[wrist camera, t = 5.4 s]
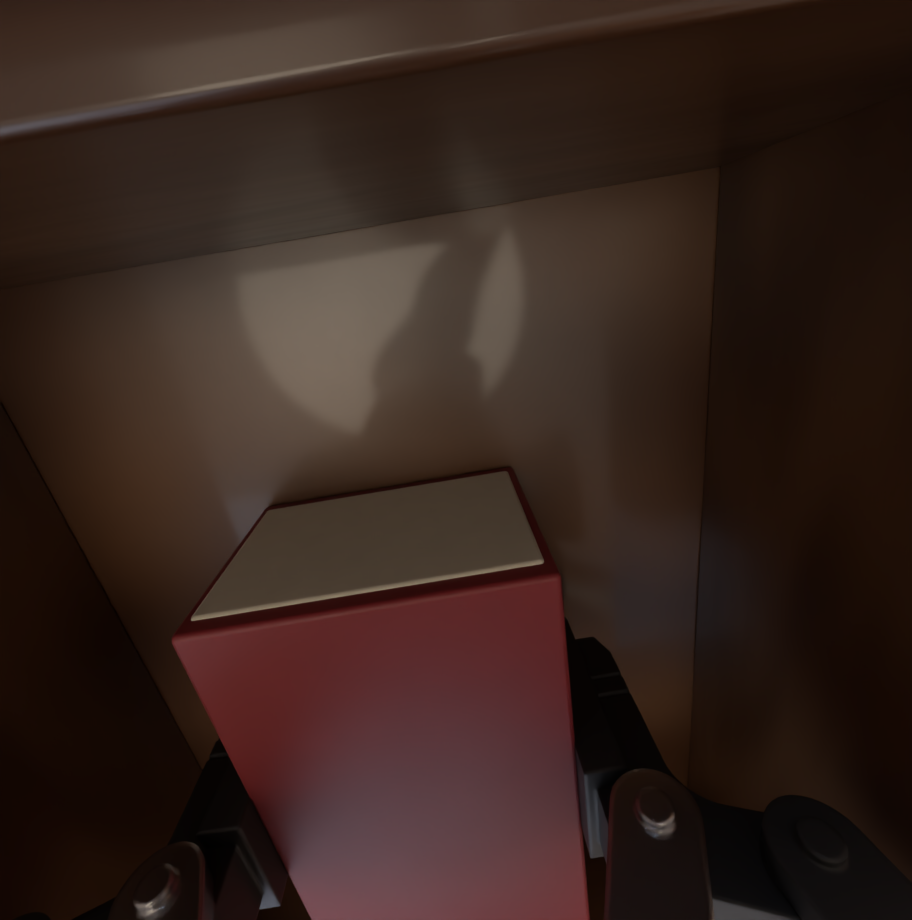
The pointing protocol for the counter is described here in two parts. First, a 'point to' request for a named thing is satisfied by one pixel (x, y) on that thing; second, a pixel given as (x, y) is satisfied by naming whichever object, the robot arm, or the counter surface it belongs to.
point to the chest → (457, 366)
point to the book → (401, 701)
